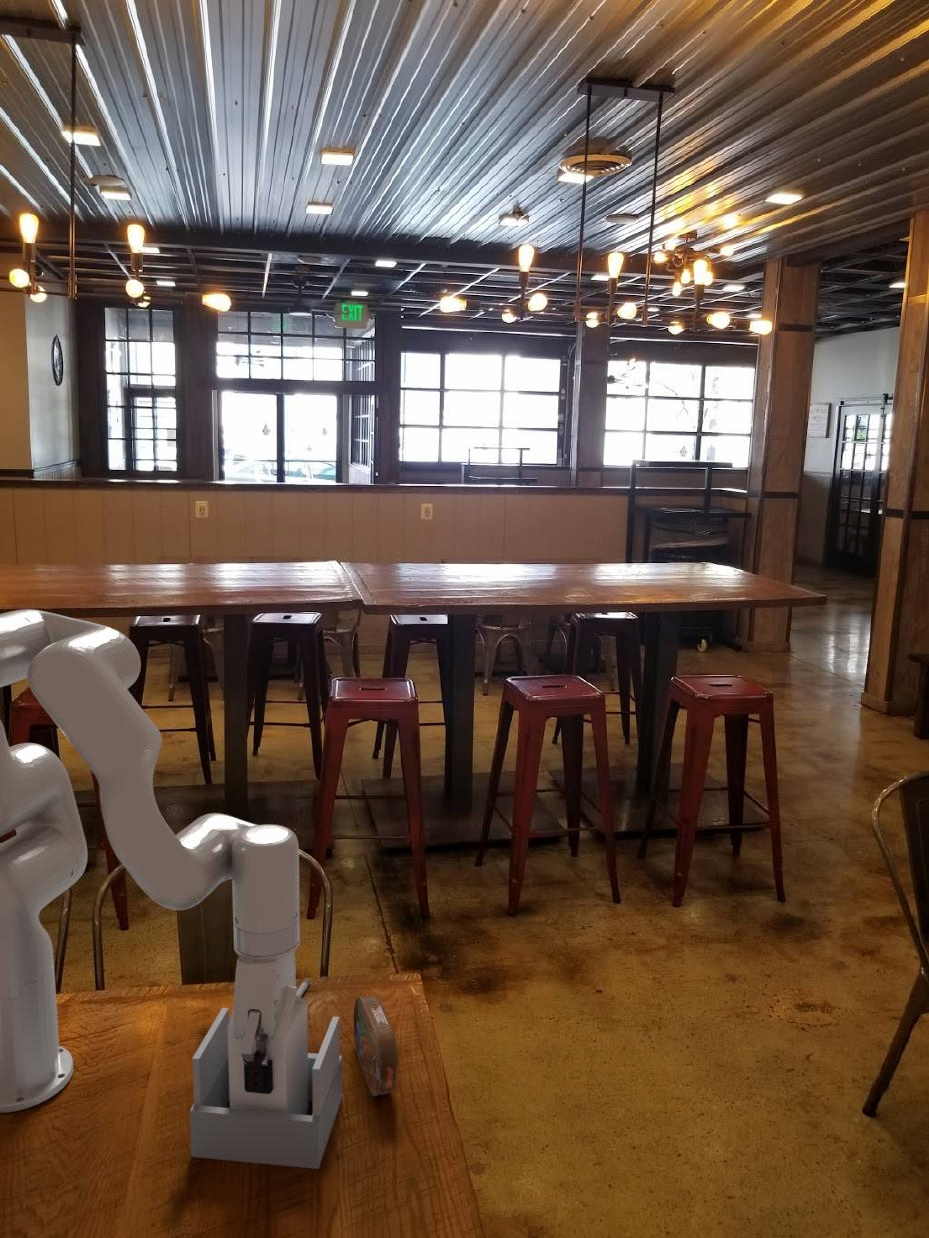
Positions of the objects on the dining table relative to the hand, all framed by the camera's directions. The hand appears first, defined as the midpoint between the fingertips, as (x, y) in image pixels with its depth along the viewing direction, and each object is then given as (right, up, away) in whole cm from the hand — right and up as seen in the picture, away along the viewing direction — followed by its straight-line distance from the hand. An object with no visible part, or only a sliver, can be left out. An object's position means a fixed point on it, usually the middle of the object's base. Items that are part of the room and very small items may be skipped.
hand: (269, 1067), depth 115 cm
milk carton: (0, -8, +2) cm, 8 cm away
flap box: (0, -8, +2) cm, 8 cm away
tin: (+11, -6, +12) cm, 18 cm away
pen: (-2, -4, +25) cm, 26 cm away
